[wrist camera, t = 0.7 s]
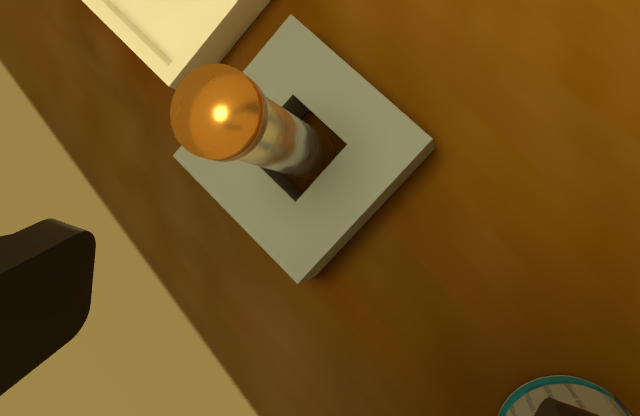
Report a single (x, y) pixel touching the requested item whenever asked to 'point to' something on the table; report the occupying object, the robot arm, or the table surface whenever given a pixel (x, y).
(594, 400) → the beverage bottle
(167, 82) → the pin tray
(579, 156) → the table surface
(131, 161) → the table surface
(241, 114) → the pin
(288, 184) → the block
